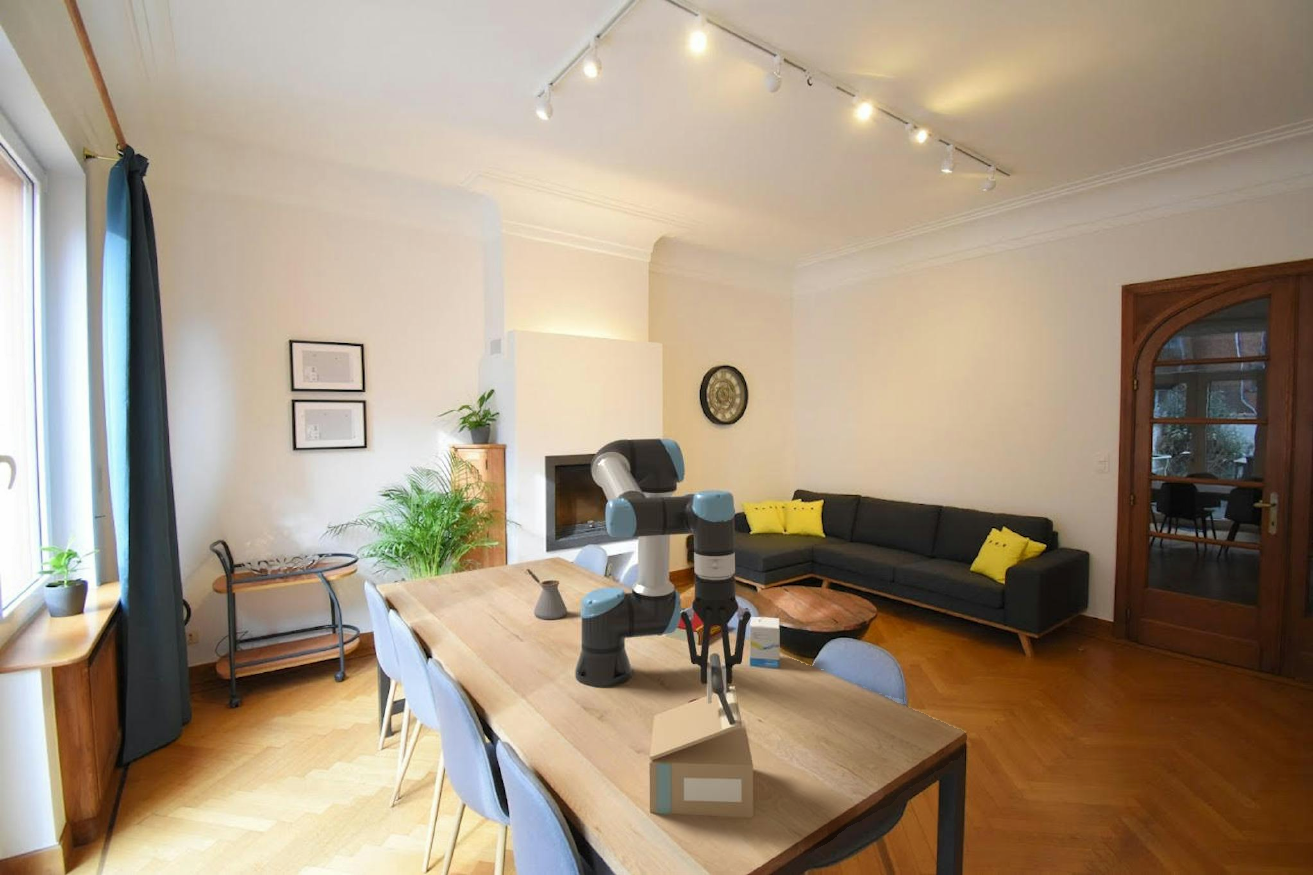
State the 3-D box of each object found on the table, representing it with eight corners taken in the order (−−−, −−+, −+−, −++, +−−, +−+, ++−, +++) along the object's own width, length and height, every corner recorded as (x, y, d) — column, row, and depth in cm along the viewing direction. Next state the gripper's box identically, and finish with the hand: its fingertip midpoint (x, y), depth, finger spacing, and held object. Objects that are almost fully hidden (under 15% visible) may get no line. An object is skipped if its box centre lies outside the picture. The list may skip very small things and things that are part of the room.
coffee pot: (573, 618, 205) (573, 576, 205) (545, 627, 197) (544, 583, 197) (540, 605, 221) (540, 565, 220) (513, 612, 213) (513, 571, 212)
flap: (651, 760, 102) (633, 716, 102) (655, 718, 117) (639, 679, 117) (742, 726, 101) (724, 682, 101) (735, 688, 116) (719, 649, 116)
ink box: (779, 669, 163) (779, 627, 163) (749, 666, 165) (749, 625, 165) (779, 656, 172) (779, 617, 171) (750, 654, 173) (750, 615, 173)
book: (699, 647, 180) (699, 631, 180) (664, 639, 187) (664, 623, 186) (725, 629, 195) (725, 614, 195) (692, 622, 202) (692, 608, 202)
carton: (649, 819, 102) (649, 763, 102) (654, 767, 117) (654, 718, 117) (753, 822, 101) (753, 765, 101) (744, 769, 116) (744, 720, 116)
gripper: (673, 580, 105) (676, 709, 105) (758, 580, 104) (759, 710, 105) (674, 569, 112) (676, 690, 113) (753, 569, 111) (754, 690, 112)
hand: (716, 699), depth 109 cm, fingers closed on flap, 2 cm apart
